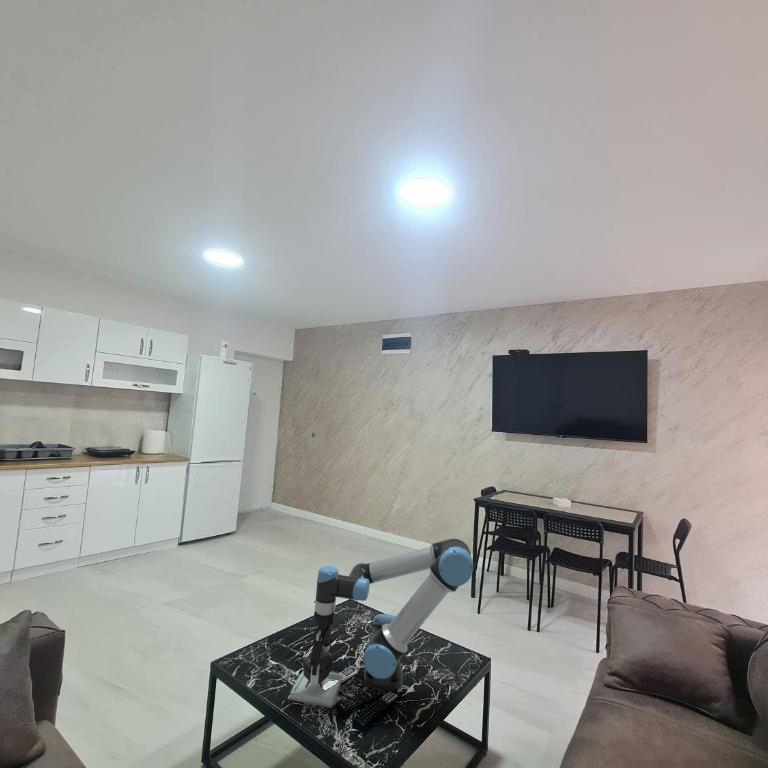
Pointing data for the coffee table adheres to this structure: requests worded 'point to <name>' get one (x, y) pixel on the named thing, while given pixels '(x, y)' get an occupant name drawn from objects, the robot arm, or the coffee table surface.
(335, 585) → the robot arm
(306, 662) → the alarm clock
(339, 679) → the tray
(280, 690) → the coffee table surface
